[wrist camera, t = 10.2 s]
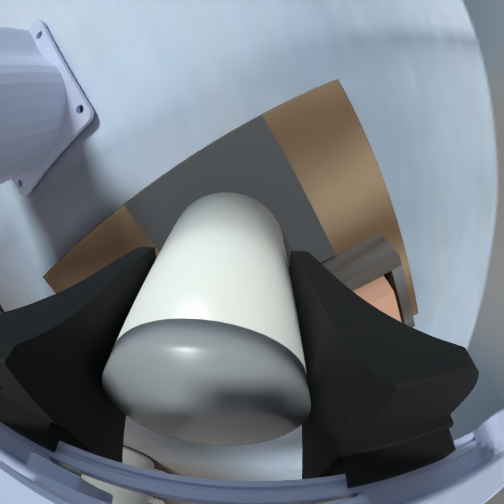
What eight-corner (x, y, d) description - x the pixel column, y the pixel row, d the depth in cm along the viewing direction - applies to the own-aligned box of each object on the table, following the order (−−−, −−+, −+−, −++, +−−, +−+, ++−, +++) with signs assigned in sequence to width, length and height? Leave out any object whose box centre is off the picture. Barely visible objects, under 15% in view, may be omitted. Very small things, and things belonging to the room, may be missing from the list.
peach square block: (314, 287, 15) (325, 324, 12) (372, 258, 14) (393, 291, 11) (335, 326, 16) (346, 362, 14) (386, 301, 16) (404, 335, 13)
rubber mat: (126, 202, 13) (123, 204, 13) (261, 114, 11) (261, 115, 11) (210, 310, 16) (209, 313, 16) (334, 252, 14) (335, 255, 14)
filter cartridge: (177, 285, 14) (133, 431, 7) (170, 190, 11) (70, 330, 4) (276, 291, 14) (289, 446, 7) (289, 196, 11) (339, 356, 4)
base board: (49, 269, 16) (24, 297, 13) (331, 81, 11) (356, 72, 8) (176, 394, 23) (170, 424, 20) (412, 304, 18) (432, 336, 15)
